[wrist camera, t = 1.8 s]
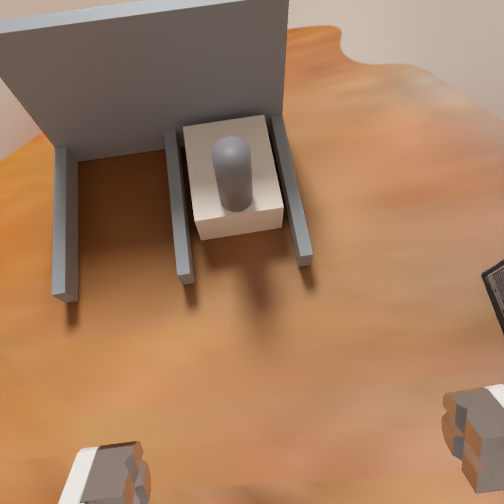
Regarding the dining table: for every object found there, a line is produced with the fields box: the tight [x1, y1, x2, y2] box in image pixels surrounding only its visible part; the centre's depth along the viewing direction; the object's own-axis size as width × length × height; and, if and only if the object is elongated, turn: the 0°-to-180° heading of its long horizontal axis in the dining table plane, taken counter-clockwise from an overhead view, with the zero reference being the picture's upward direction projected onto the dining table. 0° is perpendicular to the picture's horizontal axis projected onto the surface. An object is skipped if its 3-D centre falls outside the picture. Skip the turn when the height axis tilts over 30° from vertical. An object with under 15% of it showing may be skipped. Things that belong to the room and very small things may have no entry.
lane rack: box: [0, 0, 313, 303], centre depth 31 cm, size 20×15×14 cm
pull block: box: [183, 115, 284, 240], centre depth 33 cm, size 7×9×10 cm
